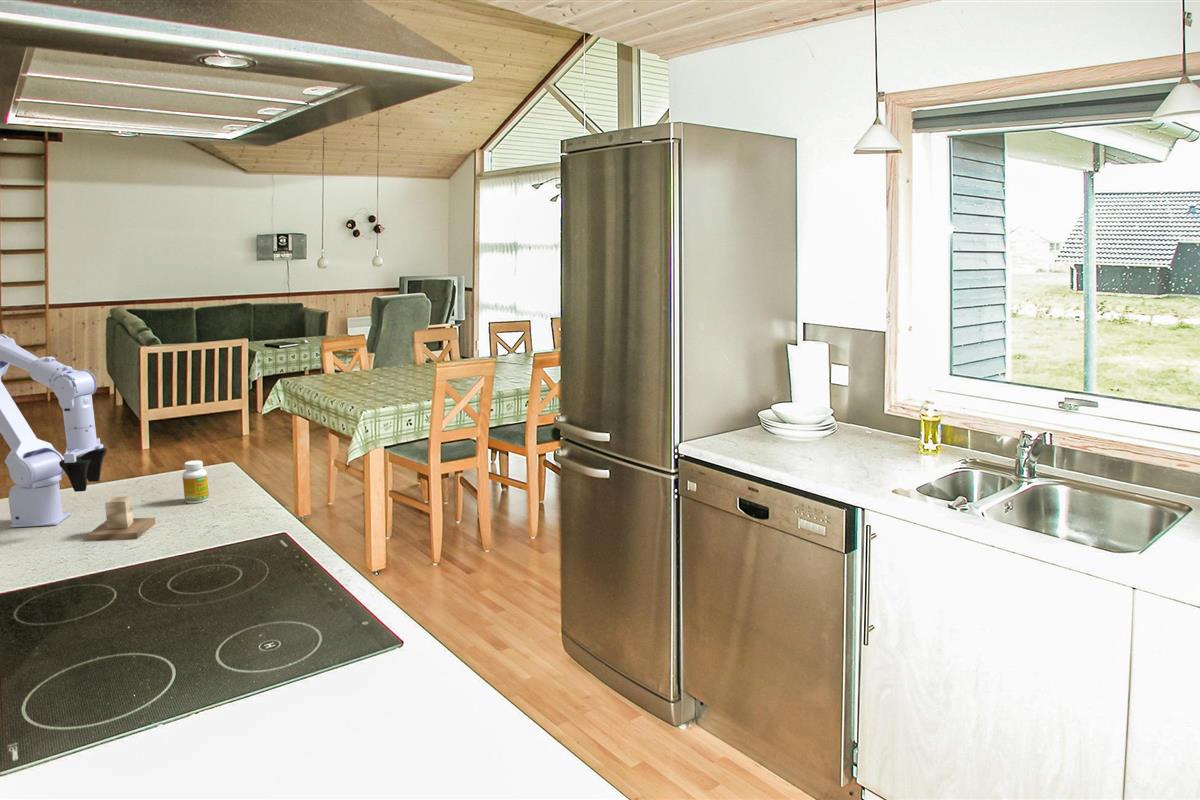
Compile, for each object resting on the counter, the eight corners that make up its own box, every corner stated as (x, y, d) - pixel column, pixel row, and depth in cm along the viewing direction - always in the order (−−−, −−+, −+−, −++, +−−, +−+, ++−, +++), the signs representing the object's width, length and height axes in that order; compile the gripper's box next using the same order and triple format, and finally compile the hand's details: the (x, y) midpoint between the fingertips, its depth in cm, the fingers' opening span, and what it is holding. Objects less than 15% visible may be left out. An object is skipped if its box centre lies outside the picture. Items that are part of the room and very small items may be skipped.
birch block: (107, 529, 186) (104, 502, 185) (113, 523, 189) (110, 497, 188) (127, 527, 186) (125, 501, 185) (133, 522, 190) (130, 496, 189)
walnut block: (88, 543, 183) (87, 534, 182) (109, 527, 193) (108, 519, 192) (137, 541, 184) (136, 532, 184) (155, 525, 194) (154, 517, 193)
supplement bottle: (199, 504, 207) (196, 465, 205) (180, 503, 208) (176, 464, 206) (213, 498, 212) (210, 460, 210) (194, 496, 213) (191, 459, 212)
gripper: (86, 432, 181) (94, 494, 184) (112, 418, 195) (118, 476, 198) (50, 434, 180) (58, 496, 182) (78, 419, 194) (85, 477, 196)
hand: (87, 486), depth 190 cm, fingers open, 7 cm apart
